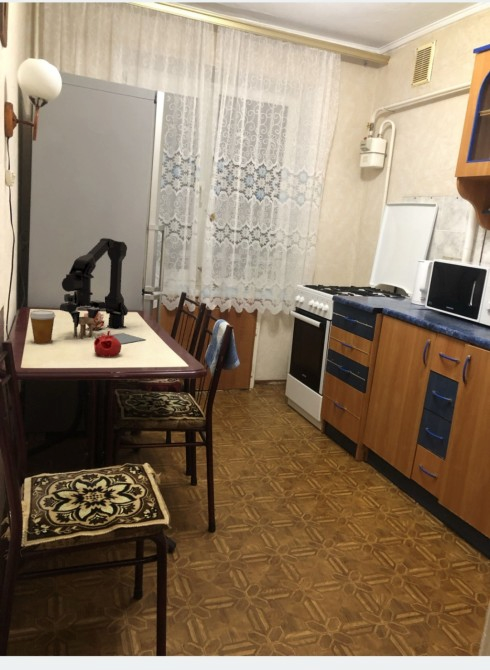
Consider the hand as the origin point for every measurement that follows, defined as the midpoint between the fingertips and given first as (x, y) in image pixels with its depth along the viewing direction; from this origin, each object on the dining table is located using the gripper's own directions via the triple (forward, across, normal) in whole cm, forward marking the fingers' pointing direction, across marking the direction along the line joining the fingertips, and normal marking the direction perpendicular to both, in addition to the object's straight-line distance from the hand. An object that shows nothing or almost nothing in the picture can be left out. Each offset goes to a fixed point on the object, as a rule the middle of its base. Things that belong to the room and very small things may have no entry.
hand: (83, 326), depth 215 cm
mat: (+4, -10, +12) cm, 16 cm away
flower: (+5, -13, -10) cm, 17 cm away
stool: (+4, 0, 0) cm, 4 cm away
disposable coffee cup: (+5, +18, -1) cm, 19 cm away
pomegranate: (+5, +10, +29) cm, 31 cm away
